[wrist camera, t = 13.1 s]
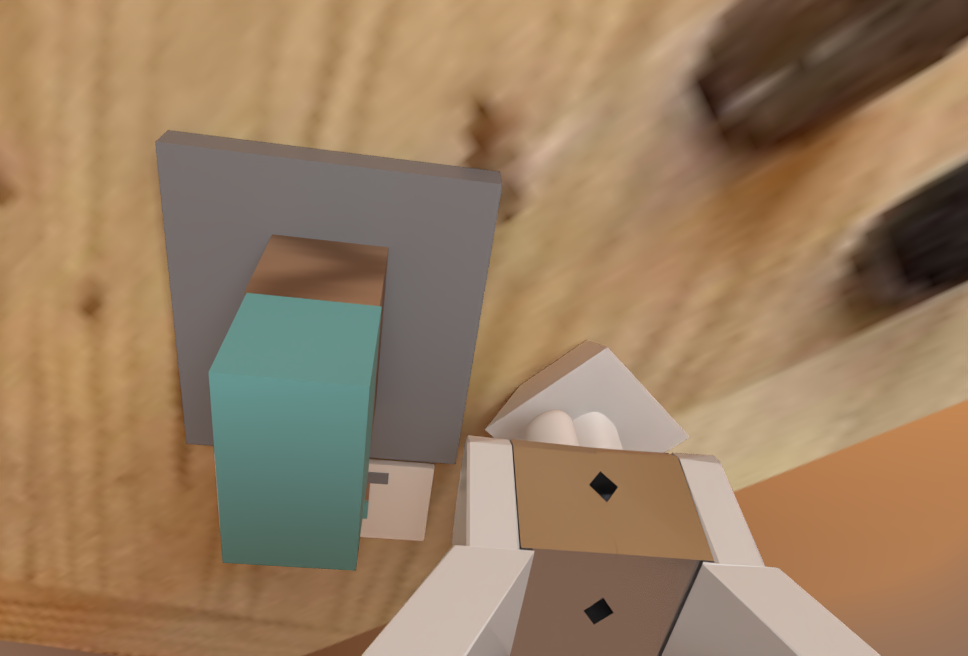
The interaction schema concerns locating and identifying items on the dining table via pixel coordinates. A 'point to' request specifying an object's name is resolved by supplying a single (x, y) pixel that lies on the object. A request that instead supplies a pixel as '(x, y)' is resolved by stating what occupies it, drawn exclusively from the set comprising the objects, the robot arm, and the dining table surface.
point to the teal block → (294, 430)
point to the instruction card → (396, 499)
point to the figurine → (587, 406)
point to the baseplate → (343, 218)
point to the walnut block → (323, 274)
